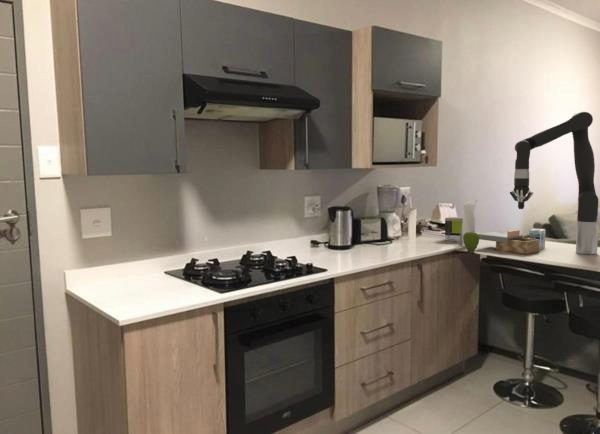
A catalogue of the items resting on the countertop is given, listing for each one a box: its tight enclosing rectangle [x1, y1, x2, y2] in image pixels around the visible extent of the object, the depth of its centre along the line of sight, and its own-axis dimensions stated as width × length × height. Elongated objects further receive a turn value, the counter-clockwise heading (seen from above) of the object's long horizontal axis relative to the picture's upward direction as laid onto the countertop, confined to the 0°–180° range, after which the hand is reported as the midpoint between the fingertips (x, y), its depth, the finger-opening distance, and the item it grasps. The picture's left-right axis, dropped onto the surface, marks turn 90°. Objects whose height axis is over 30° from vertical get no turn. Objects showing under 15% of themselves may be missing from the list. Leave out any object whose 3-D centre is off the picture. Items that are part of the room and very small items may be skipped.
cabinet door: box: [477, 229, 524, 243], centre depth 289 cm, size 19×15×6 cm
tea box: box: [444, 216, 463, 242], centre depth 323 cm, size 15×10×15 cm
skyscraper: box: [459, 199, 478, 248], centre depth 299 cm, size 8×8×28 cm
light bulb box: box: [528, 228, 547, 251], centre depth 291 cm, size 11×7×11 cm, turn 143°
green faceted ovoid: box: [463, 232, 481, 253], centre depth 282 cm, size 9×8×12 cm
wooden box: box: [495, 237, 540, 256], centre depth 281 cm, size 18×13×7 cm
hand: (521, 208), depth 280 cm, fingers closed
